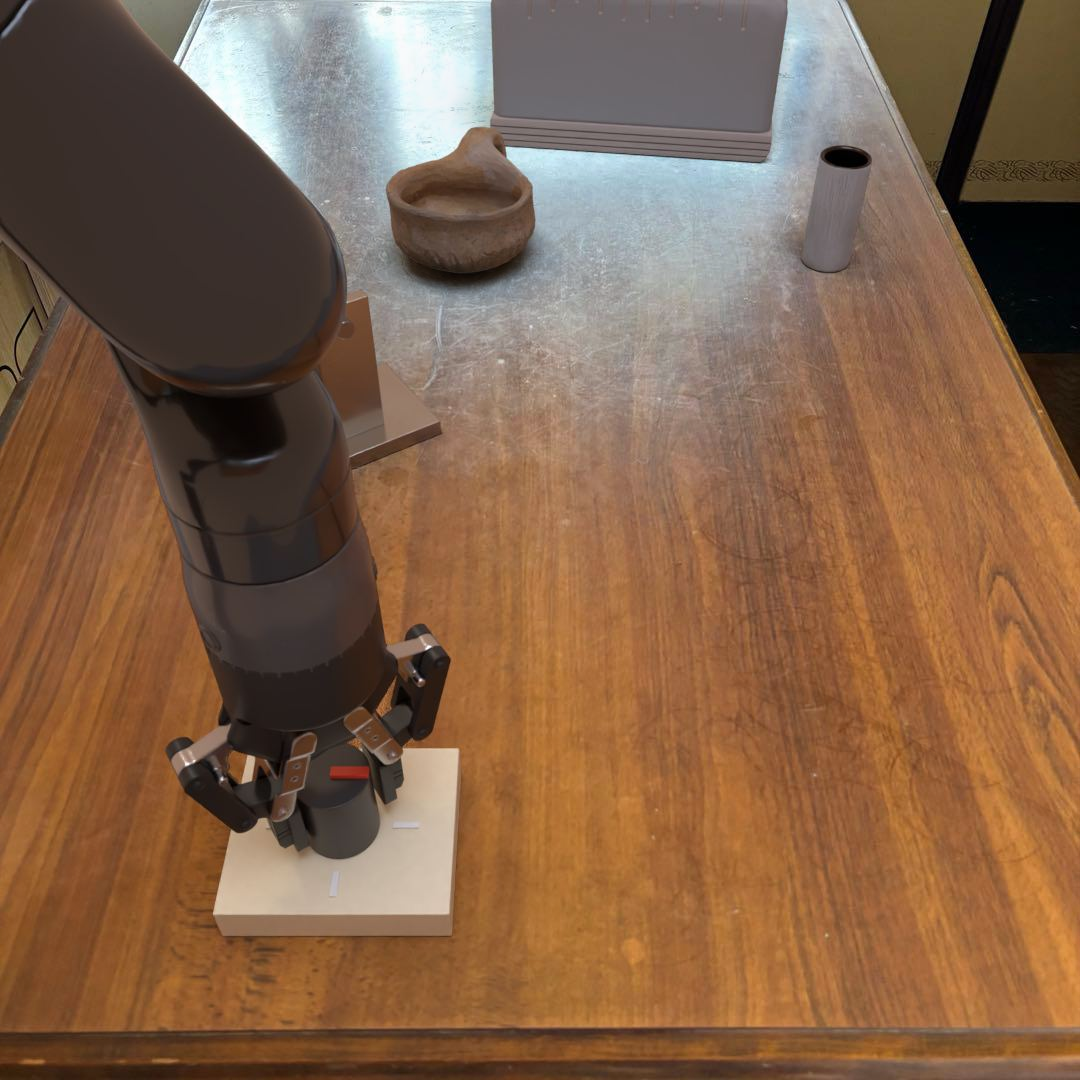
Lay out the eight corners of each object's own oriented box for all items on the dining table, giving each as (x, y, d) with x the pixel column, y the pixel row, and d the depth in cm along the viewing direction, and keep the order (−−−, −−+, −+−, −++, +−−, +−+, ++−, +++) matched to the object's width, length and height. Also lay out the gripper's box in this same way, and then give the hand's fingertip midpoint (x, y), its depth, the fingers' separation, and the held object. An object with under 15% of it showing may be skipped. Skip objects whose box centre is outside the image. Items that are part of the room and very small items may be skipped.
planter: (792, 262, 104) (811, 159, 97) (813, 242, 107) (833, 140, 99) (836, 278, 102) (859, 173, 95) (857, 257, 105) (881, 153, 97)
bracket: (300, 490, 82) (270, 347, 73) (252, 425, 87) (219, 284, 78) (441, 433, 86) (429, 292, 77) (388, 375, 92) (371, 236, 83)
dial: (299, 859, 58) (283, 805, 54) (311, 793, 61) (295, 737, 57) (376, 859, 58) (364, 805, 54) (383, 793, 61) (373, 737, 57)
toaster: (768, 35, 143) (790, -122, 130) (768, 163, 118) (795, -15, 105) (538, 22, 146) (537, -132, 133) (490, 145, 121) (484, -30, 108)
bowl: (386, 185, 112) (405, 91, 105) (520, 221, 114) (547, 131, 108) (366, 280, 99) (387, 179, 92) (517, 317, 102) (548, 222, 95)
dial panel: (222, 936, 57) (211, 913, 56) (256, 772, 65) (248, 746, 63) (452, 936, 58) (449, 912, 56) (461, 772, 65) (459, 746, 63)
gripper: (396, 484, 51) (424, 704, 63) (90, 611, 46) (185, 825, 58) (479, 584, 47) (492, 800, 59) (151, 738, 41) (240, 941, 53)
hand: (339, 812), depth 58 cm, fingers open, 4 cm apart
